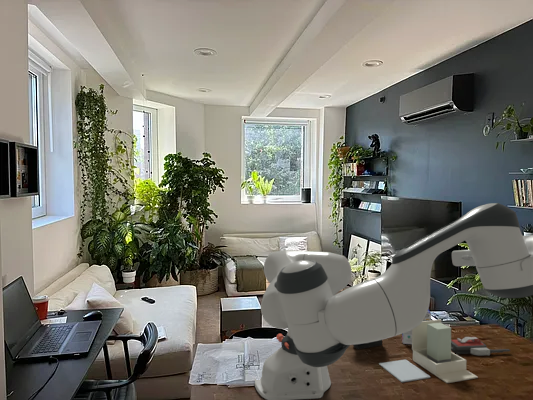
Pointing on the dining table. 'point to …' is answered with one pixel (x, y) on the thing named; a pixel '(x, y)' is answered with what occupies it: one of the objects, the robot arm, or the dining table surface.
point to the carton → (442, 370)
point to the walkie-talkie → (472, 347)
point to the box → (438, 342)
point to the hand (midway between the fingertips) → (479, 258)
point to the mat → (404, 370)
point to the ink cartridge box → (408, 335)
